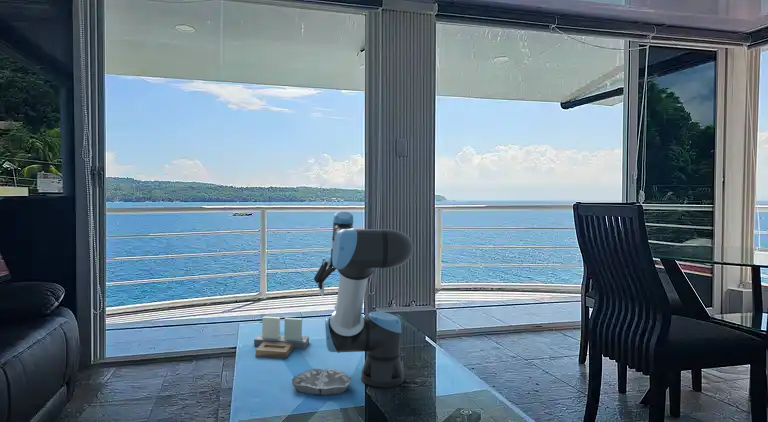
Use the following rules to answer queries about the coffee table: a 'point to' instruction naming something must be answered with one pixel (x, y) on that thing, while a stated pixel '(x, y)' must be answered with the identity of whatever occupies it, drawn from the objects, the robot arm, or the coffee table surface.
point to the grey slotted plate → (283, 341)
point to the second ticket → (293, 328)
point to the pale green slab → (271, 327)
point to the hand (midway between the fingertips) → (337, 291)
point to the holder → (274, 349)
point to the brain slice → (321, 382)
